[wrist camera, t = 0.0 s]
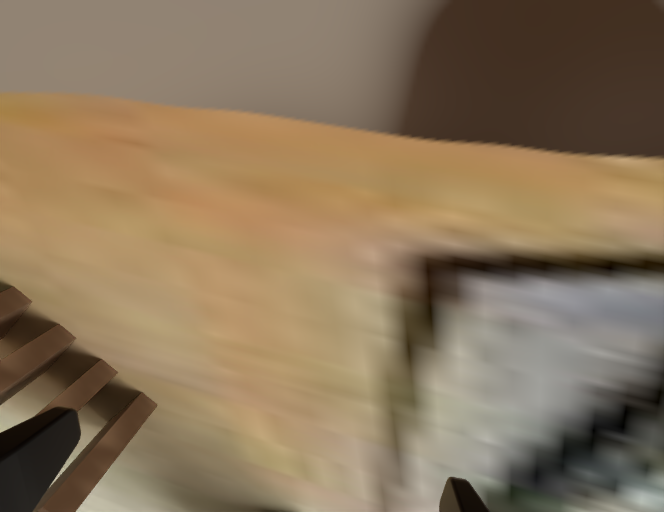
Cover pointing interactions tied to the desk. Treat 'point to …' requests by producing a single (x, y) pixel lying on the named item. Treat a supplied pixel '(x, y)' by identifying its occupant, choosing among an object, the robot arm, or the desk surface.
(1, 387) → the domino
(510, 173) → the desk surface
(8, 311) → the domino
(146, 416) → the domino
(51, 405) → the domino
